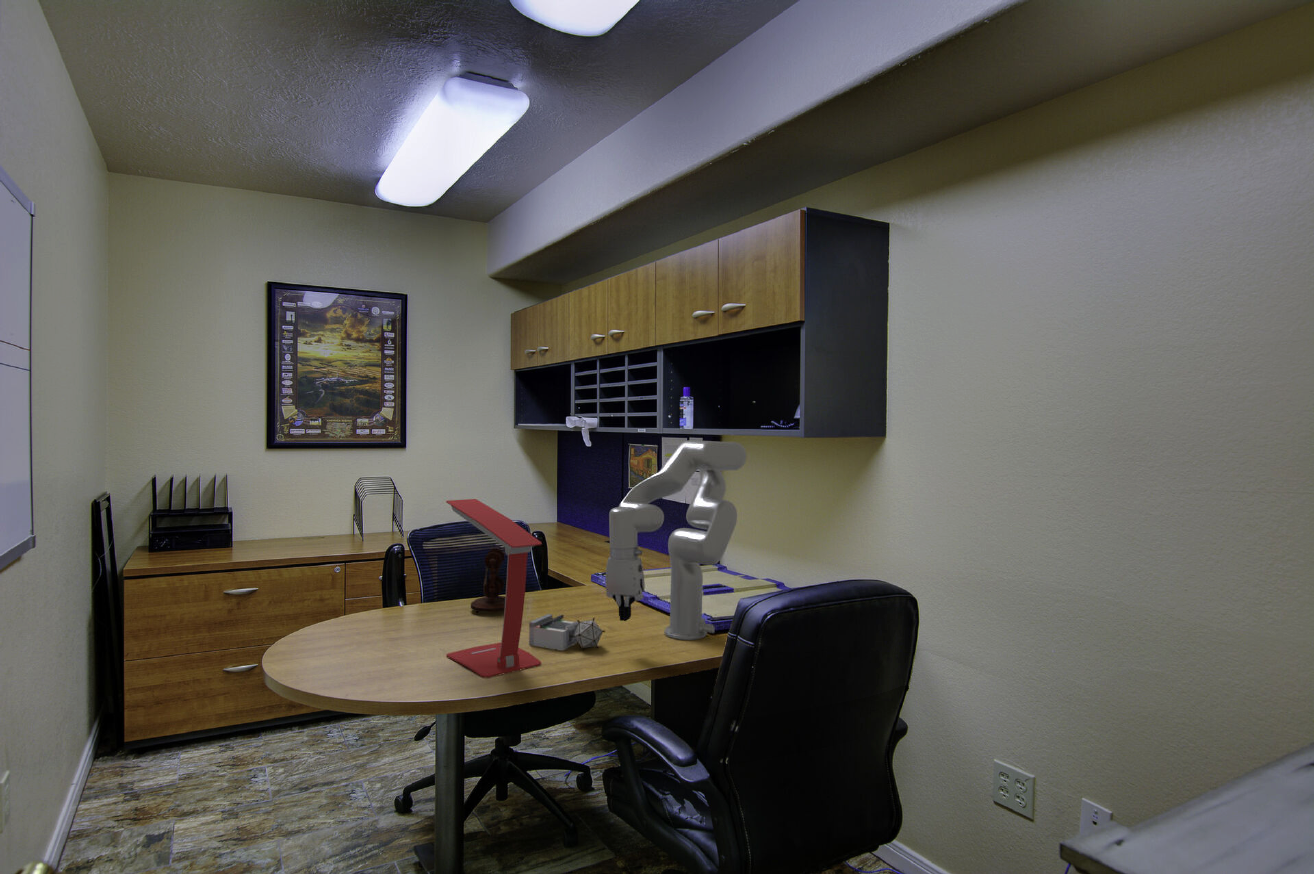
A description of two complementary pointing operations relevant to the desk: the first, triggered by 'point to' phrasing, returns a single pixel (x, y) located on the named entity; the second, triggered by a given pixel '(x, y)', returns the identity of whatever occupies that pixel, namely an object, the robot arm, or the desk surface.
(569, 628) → the grey channel block
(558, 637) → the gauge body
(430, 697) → the desk surface
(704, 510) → the robot arm
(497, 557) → the brown jointed stand
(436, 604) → the desk surface
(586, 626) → the game die
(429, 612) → the desk surface
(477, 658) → the desk lamp
